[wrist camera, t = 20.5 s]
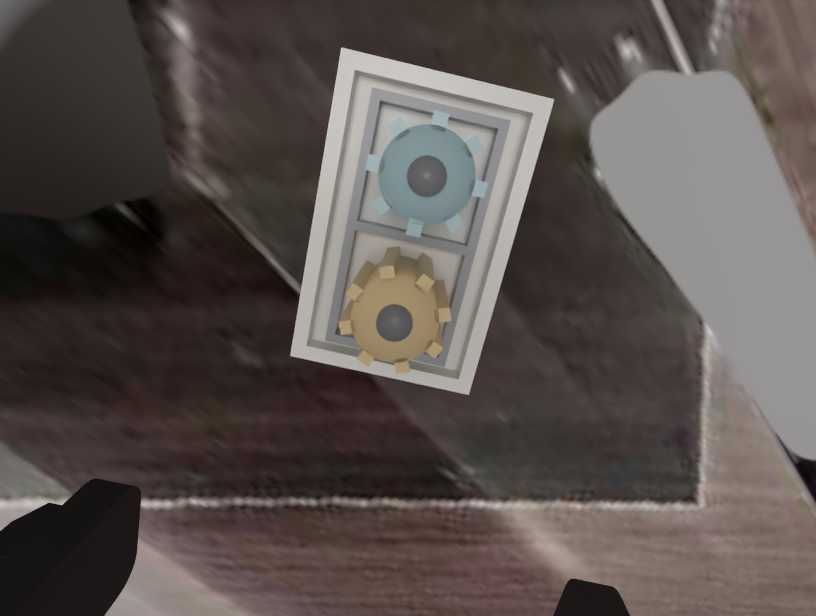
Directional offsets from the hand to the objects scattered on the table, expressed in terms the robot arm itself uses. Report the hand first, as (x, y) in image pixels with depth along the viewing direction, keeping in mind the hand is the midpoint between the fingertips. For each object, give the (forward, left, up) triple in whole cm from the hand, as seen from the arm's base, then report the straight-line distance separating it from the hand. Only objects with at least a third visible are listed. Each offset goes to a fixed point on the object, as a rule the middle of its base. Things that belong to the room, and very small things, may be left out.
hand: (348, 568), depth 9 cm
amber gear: (0, +1, -25) cm, 25 cm away
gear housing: (0, -3, -26) cm, 26 cm away
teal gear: (0, -7, -25) cm, 26 cm away
